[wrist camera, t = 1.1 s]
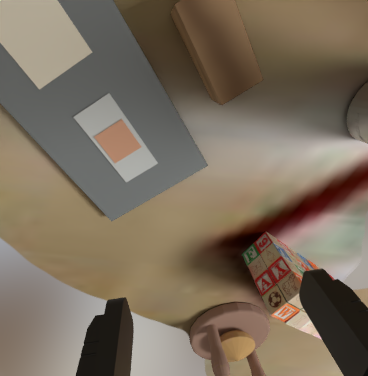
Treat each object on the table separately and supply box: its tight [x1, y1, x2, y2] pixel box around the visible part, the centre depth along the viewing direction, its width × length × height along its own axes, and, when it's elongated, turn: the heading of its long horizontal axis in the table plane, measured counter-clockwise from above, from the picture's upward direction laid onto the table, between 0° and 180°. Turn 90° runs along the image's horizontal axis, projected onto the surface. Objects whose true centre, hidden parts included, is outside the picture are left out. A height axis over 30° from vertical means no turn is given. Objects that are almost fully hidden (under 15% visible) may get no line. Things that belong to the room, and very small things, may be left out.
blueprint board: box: [0, 0, 208, 221], centre depth 25 cm, size 16×38×2 cm, turn 30°
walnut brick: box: [170, 0, 263, 105], centre depth 26 cm, size 5×10×5 cm, turn 30°
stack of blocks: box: [242, 232, 334, 339], centre depth 41 cm, size 21×6×12 cm, turn 52°
